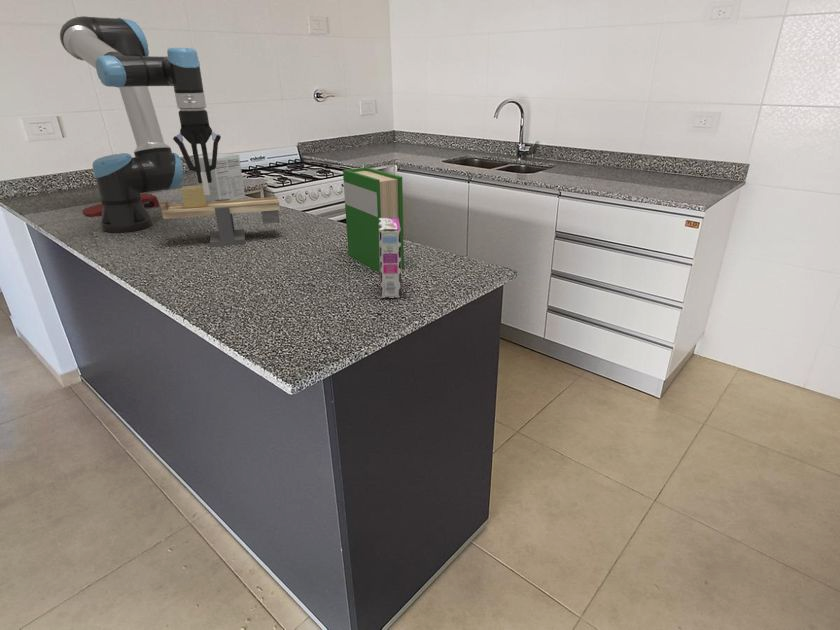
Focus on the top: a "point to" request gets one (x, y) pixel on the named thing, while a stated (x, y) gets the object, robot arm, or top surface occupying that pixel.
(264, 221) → the beam
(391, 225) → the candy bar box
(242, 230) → the pivot stand
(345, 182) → the hardback book
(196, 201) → the rider
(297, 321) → the top surface
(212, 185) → the supplement box
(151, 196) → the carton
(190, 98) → the robot arm
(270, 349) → the top surface
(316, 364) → the top surface
